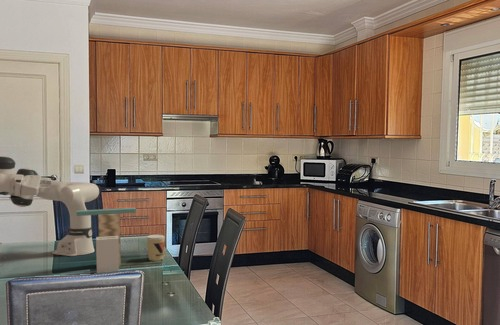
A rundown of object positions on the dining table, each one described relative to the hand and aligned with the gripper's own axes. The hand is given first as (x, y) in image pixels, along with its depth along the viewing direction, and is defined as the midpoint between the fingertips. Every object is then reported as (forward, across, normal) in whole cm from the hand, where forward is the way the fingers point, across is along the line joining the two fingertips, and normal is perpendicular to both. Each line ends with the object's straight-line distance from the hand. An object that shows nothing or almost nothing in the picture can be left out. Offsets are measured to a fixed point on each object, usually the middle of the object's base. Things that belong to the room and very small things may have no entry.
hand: (50, 185), depth 217 cm
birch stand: (+31, +12, -36) cm, 49 cm away
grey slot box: (+29, +22, -34) cm, 50 cm away
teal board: (+27, +5, -11) cm, 30 cm away
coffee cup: (+54, +8, -35) cm, 65 cm away
